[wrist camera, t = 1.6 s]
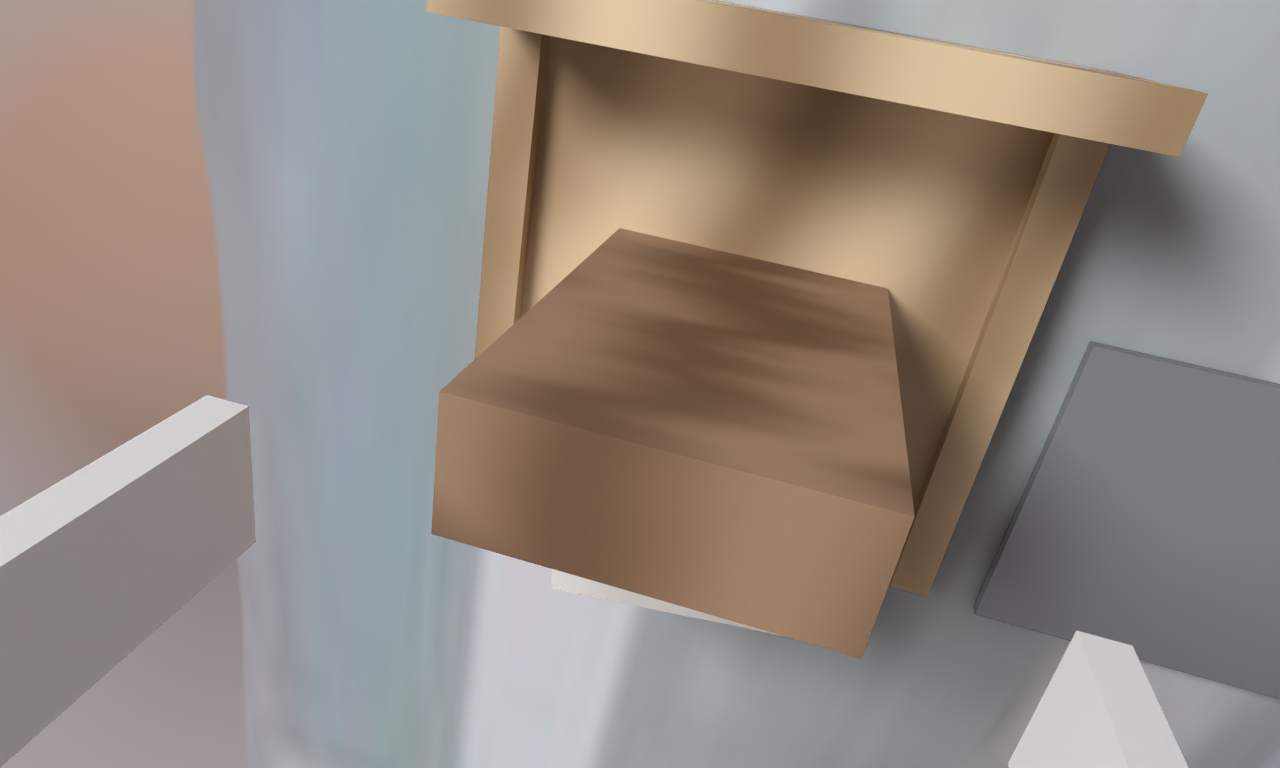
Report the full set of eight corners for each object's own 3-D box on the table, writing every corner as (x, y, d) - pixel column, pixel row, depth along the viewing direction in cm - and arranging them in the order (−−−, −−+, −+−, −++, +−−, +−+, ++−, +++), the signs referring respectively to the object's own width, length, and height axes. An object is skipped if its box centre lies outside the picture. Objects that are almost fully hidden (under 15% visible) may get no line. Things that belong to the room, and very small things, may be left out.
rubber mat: (1640, 465, 22) (1653, 473, 21) (1422, 730, 26) (1430, 740, 26) (1090, 341, 24) (1093, 346, 23) (973, 606, 28) (975, 614, 28)
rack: (1118, 73, 21) (1207, 93, 16) (923, 567, 28) (939, 697, 23) (526, -34, 23) (428, -48, 18) (484, 448, 30) (404, 541, 25)
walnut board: (887, 288, 23) (914, 516, 13) (859, 381, 25) (861, 658, 14) (619, 227, 25) (439, 391, 14) (605, 320, 26) (431, 533, 15)
